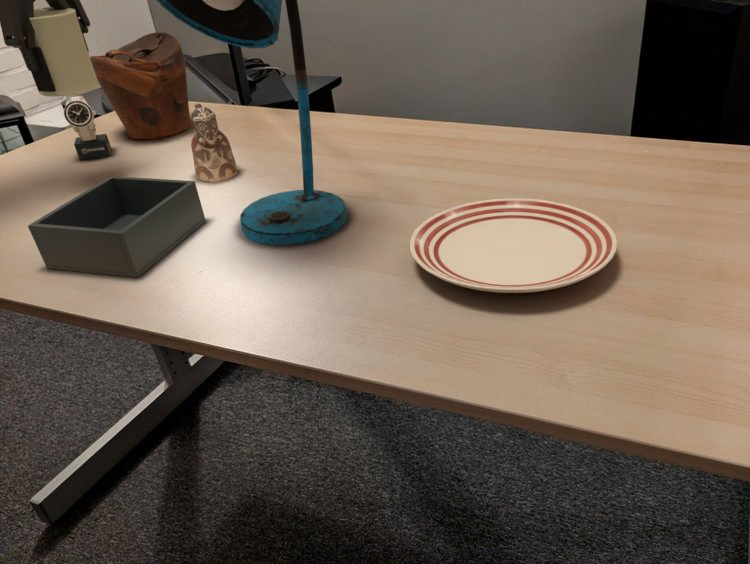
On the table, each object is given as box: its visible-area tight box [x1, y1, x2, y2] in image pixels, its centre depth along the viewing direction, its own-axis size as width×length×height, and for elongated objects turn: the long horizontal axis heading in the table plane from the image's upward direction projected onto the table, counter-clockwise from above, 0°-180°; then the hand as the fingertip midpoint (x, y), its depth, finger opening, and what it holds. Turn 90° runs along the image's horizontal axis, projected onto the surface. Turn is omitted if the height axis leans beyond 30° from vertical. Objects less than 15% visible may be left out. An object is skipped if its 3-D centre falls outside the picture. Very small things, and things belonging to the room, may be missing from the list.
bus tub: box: [27, 175, 207, 278], centre depth 94 cm, size 15×18×7 cm
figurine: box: [190, 103, 238, 183], centre depth 114 cm, size 7×7×12 cm
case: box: [89, 31, 191, 140], centre depth 134 cm, size 18×20×18 cm
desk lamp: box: [156, 0, 348, 246], centre depth 86 cm, size 16×22×45 cm
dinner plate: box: [409, 197, 618, 294], centre depth 88 cm, size 27×27×3 cm
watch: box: [63, 95, 112, 161], centre depth 125 cm, size 6×8×11 cm
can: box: [24, 6, 101, 98], centre depth 105 cm, size 9×9×12 cm
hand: (67, 83), depth 108 cm, fingers closed on can, 9 cm apart
